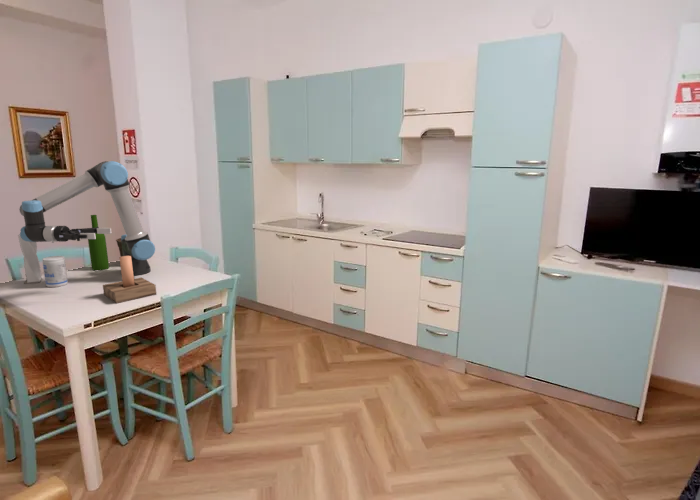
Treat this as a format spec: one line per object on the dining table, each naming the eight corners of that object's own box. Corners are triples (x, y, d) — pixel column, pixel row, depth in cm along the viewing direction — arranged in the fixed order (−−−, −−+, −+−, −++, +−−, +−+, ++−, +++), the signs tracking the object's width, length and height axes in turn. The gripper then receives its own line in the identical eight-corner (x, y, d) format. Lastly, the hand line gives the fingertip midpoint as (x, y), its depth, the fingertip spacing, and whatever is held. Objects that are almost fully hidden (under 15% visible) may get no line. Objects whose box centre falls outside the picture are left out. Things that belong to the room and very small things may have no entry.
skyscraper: (45, 278, 229) (37, 228, 223) (43, 282, 222) (34, 230, 216) (26, 280, 225) (17, 229, 219) (23, 284, 218) (14, 232, 212)
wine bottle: (94, 267, 252) (87, 214, 245) (111, 266, 255) (104, 213, 248) (89, 271, 244) (82, 216, 237) (106, 270, 246) (99, 215, 239)
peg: (122, 292, 202) (117, 257, 198) (133, 290, 206) (128, 255, 202) (126, 294, 199) (121, 258, 195) (137, 292, 202) (132, 256, 199)
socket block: (103, 294, 202) (102, 284, 201) (142, 286, 215) (141, 277, 214) (116, 303, 190) (115, 293, 189) (156, 294, 203) (155, 284, 202)
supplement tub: (41, 287, 213) (37, 260, 210) (53, 282, 222) (49, 255, 219) (61, 287, 213) (56, 259, 210) (72, 282, 222) (68, 255, 219)
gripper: (75, 236, 209) (117, 236, 210) (40, 247, 185) (88, 246, 185) (73, 221, 207) (115, 221, 208) (37, 230, 183) (86, 230, 184)
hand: (103, 233), depth 197 cm, fingers open, 13 cm apart
